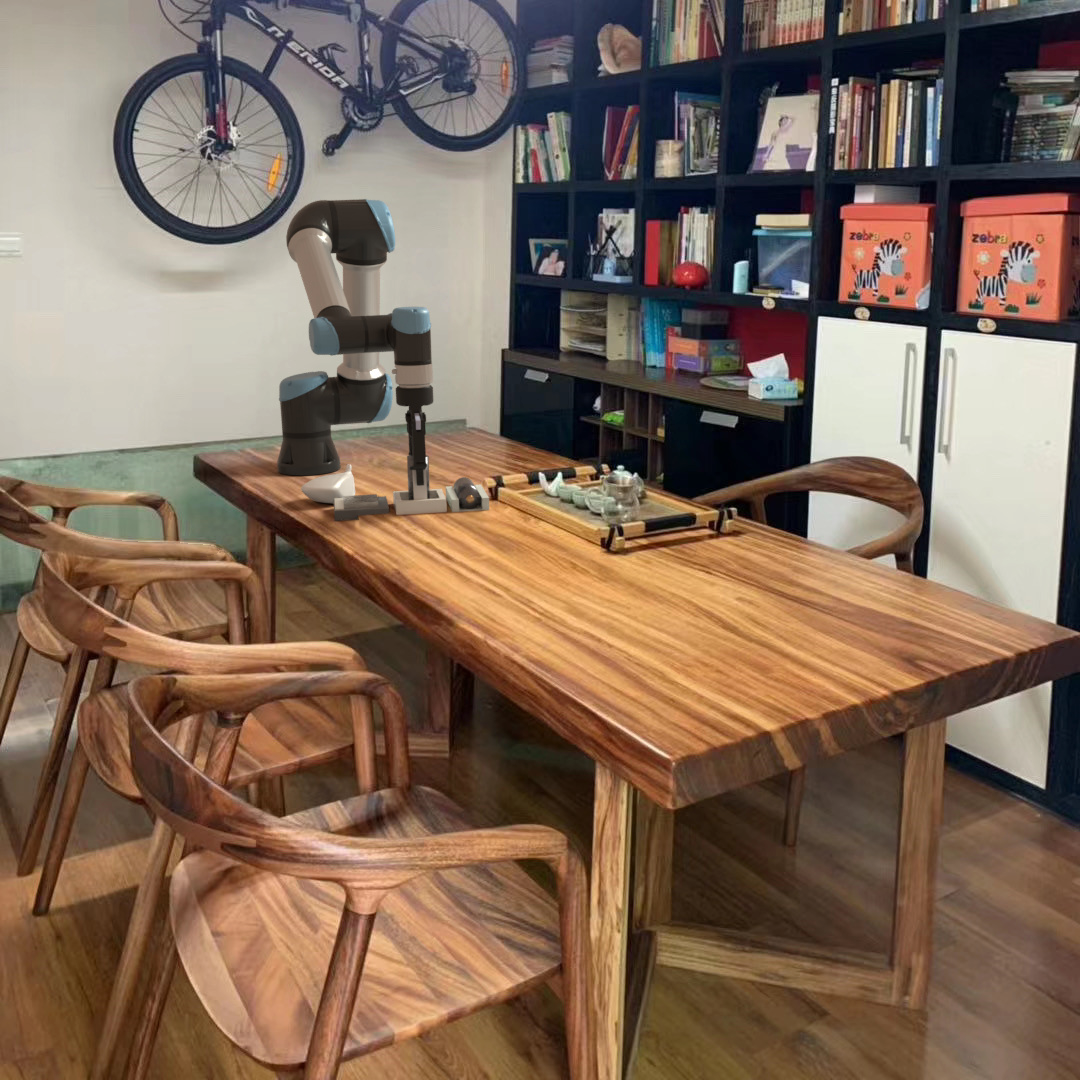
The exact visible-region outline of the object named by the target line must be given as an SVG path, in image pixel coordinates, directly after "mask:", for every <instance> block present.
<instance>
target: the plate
mask: <svg viewBox="0 0 1080 1080" xmlns="http://www.w3.org/2000/svg"><path fill="white" fill-rule="evenodd" d="M377 497H378V495H377V493H375V494H360V495H359V494H358V495H357V494H355V496H343V503H344V508H359V507H376V506H378V498H377Z"/></svg>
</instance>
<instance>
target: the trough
mask: <svg viewBox="0 0 1080 1080" xmlns="http://www.w3.org/2000/svg"><path fill="white" fill-rule="evenodd" d="M474 485H475V487H476V489H477V490H478V492H479V494H480V497H481V500H480V503H479V505H478V506H477V507H476V508H473V509H466V508H464V507H463V506H462V505H461V504H460V502H459V499H458V497H457V495H456V493H455V491H454V486H453V485H452V486H451V485H449V486H445V497H446V502H447V504H448V505H449V508H450V510H451V512H452V513H460V512H475V511H476V512H477V511H478V512H479V511H490V497H489V496H488V494H487V492H486V491H485V489H484V487H483V485H482V484H474Z"/></svg>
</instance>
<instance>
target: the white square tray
mask: <svg viewBox="0 0 1080 1080" xmlns="http://www.w3.org/2000/svg"><path fill="white" fill-rule="evenodd" d="M392 496H393V497H392V498H393V507H394V511H395V514H396V516H403V515H419V514H420V515H421V514H434V513H435V514H436V513H447V512H448V511H447V510H448V509H447V507H448V505H447V504H448V503H447V499H446V494H444V491H443V488H430V499H419V500H408V490H396V491H392Z"/></svg>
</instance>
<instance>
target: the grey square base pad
mask: <svg viewBox="0 0 1080 1080" xmlns="http://www.w3.org/2000/svg"><path fill="white" fill-rule="evenodd" d="M377 498H378V506H376V507H359V508H344V503H343V498H334V503H333V515H334V521H335V522H336V521H337V522H338V521H339V522H340V521H352V520H353V521H354V520H360V517H359V516H370V515H371V516H372V515H387V514H390V508H389V504H388V503H389V502H388V498H387V496H385V495H383V496H377Z"/></svg>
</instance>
